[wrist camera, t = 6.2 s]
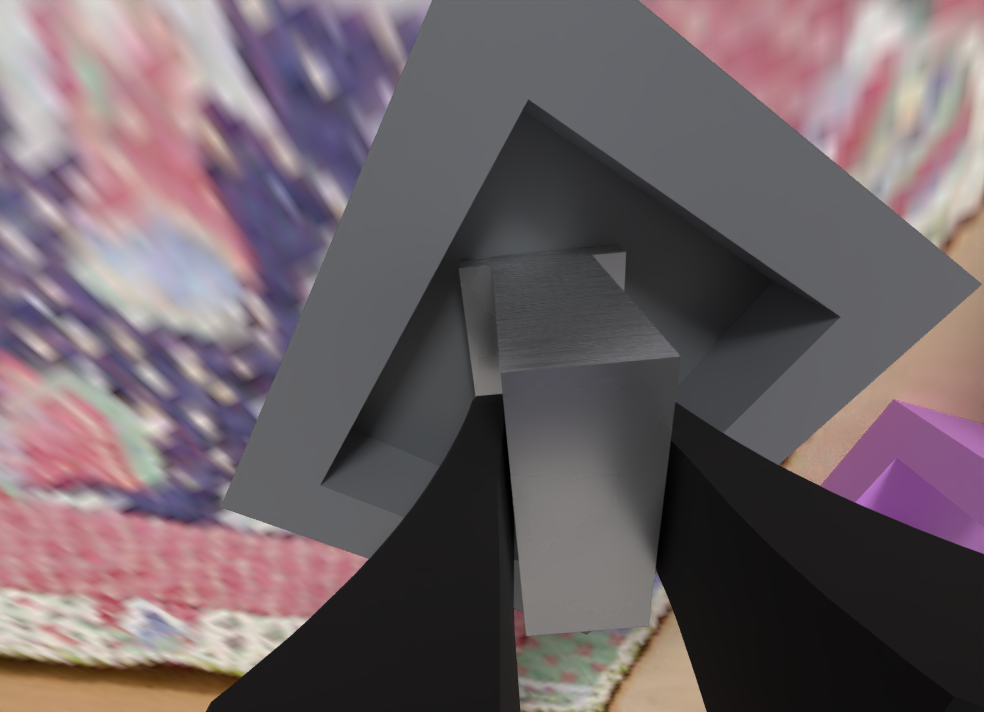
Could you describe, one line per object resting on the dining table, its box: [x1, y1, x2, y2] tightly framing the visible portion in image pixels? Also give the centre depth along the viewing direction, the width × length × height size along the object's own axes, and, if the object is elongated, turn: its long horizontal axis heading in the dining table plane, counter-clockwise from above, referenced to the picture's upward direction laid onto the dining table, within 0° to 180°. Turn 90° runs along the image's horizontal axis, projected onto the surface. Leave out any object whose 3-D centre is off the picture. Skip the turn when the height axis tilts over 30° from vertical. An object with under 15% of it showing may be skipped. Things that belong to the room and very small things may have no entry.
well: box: [221, 0, 982, 634], centre depth 12 cm, size 12×14×3 cm
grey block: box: [459, 244, 681, 636], centre depth 10 cm, size 4×6×6 cm, turn 5°
